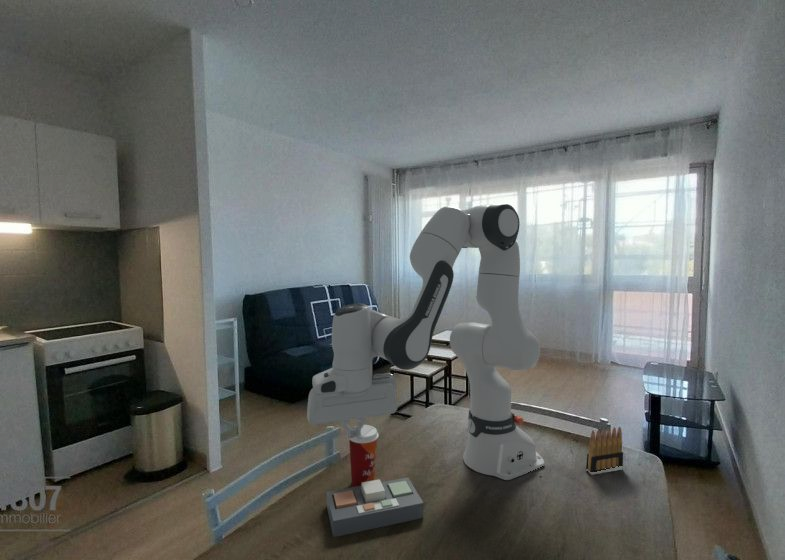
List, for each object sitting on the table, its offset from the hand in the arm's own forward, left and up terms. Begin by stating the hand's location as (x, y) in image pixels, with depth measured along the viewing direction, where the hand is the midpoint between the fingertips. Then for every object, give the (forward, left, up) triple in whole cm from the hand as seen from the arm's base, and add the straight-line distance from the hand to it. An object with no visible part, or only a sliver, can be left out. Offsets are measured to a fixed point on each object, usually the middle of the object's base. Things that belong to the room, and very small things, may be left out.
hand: (353, 436), depth 86 cm
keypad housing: (-4, +3, -17) cm, 18 cm away
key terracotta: (+2, +2, -15) cm, 16 cm away
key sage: (-11, +2, -16) cm, 19 cm away
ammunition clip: (-69, +5, -17) cm, 71 cm away
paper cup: (-4, -8, -17) cm, 20 cm away
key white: (-4, +2, -14) cm, 15 cm away
